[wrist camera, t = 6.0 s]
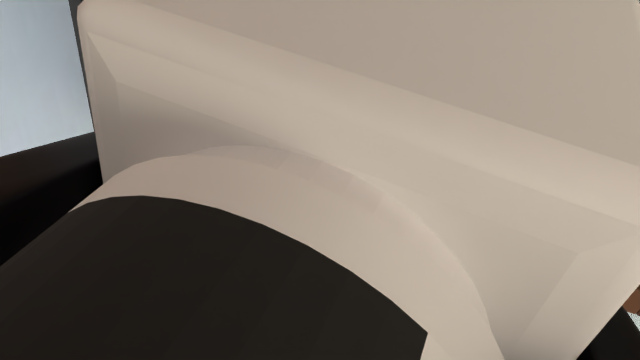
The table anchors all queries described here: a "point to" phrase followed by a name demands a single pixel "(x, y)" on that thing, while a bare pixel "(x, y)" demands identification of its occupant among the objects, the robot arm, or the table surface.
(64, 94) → the table surface
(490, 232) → the medicine bottle
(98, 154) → the robot arm
